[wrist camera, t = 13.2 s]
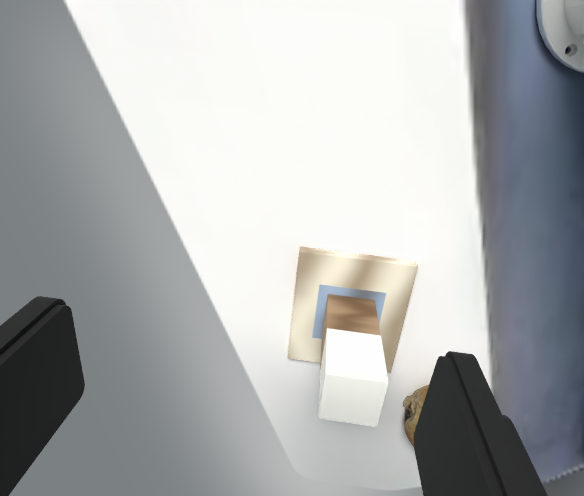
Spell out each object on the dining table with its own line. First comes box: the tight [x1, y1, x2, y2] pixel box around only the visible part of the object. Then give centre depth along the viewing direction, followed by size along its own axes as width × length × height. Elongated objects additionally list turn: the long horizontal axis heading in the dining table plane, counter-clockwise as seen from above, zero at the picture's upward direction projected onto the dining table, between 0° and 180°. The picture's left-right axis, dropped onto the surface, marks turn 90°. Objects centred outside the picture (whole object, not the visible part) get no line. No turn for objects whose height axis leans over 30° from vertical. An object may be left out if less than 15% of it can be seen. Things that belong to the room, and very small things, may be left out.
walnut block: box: [320, 294, 381, 368], centre depth 41 cm, size 5×5×6 cm
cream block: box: [318, 328, 388, 427], centre depth 36 cm, size 5×5×6 cm
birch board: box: [288, 247, 418, 373], centre depth 45 cm, size 12×14×1 cm
